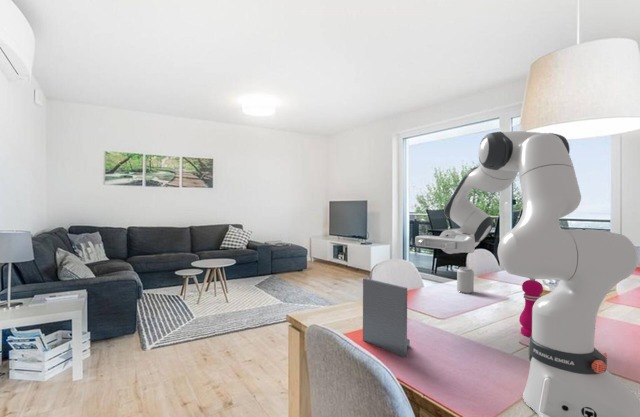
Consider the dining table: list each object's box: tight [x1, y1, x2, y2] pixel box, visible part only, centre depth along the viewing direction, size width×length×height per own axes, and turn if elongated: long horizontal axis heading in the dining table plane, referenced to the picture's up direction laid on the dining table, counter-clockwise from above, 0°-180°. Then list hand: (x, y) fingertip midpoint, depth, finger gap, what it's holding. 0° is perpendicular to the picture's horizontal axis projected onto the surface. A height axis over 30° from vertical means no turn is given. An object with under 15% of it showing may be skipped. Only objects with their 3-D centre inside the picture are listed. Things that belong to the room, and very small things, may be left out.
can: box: [456, 266, 475, 294], centre depth 166 cm, size 8×8×12 cm
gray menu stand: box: [362, 277, 411, 358], centre depth 105 cm, size 16×8×20 cm, turn 41°
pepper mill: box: [518, 278, 544, 338], centre depth 113 cm, size 7×7×20 cm
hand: (431, 244), depth 116 cm, fingers open, 8 cm apart
